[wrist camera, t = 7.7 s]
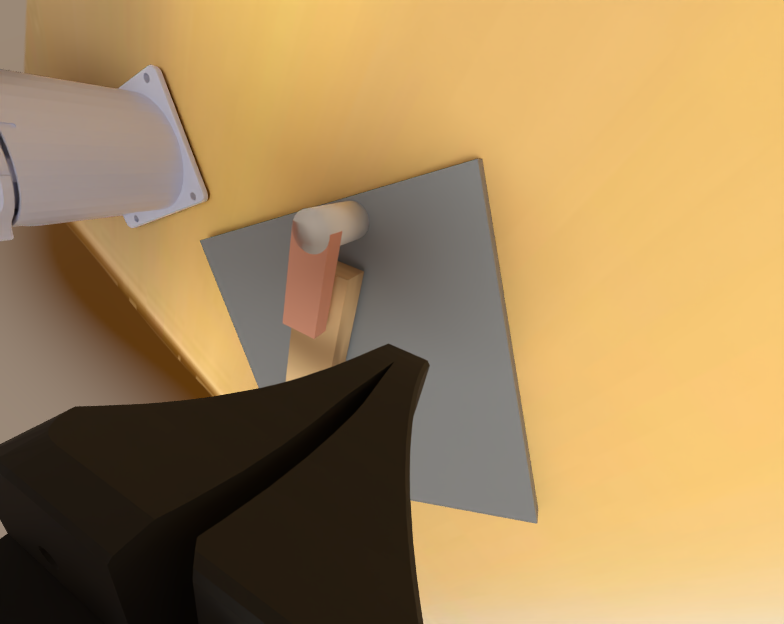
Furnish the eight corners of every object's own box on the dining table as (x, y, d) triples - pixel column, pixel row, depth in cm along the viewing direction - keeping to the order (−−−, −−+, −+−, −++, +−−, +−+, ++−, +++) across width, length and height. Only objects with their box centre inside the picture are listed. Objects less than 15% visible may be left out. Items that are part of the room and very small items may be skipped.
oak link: (335, 439, 25) (308, 472, 22) (290, 413, 26) (259, 441, 23) (372, 274, 19) (340, 293, 16) (310, 249, 20) (271, 263, 17)
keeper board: (302, 470, 30) (264, 515, 26) (212, 238, 24) (146, 252, 21) (538, 509, 21) (532, 585, 17) (482, 159, 16) (455, 157, 12)
